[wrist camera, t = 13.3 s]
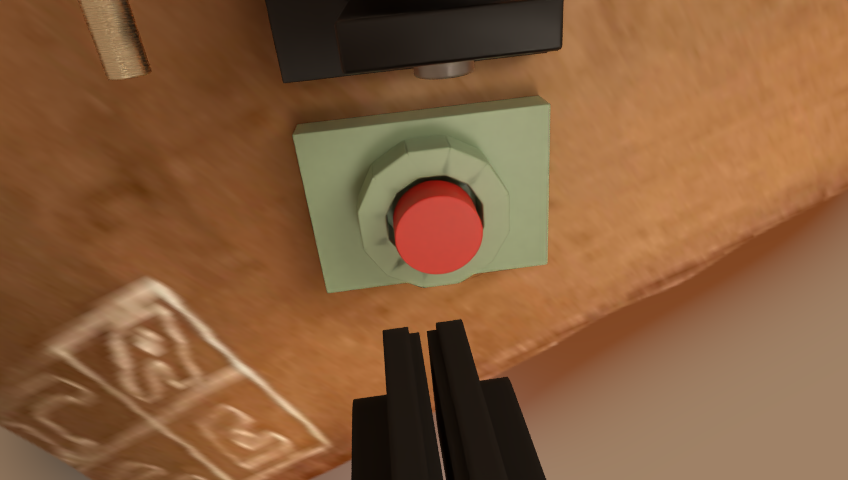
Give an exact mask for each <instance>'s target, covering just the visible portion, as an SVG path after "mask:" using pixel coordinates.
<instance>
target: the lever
mask: <svg viewBox="0 0 848 480" xmlns="http://www.w3.org/2000/svg"><path fill="white" fill-rule="evenodd" d="M78 3H79V5H80V8H81V11H82V13H83V16H84V19H85V21H86V24H87V27H88V29H89V32H90V35H91V37H92V40H93V43H94V45H95V48H96V51H97V53H98V56H99V59H100V61H101V64H102V67H103V69H104V72H105V75H106V77H107V79H108V80H123V79H130V78H135V77H140V76H144V75H147V74H150V73H151V72H152V70H151V67H150V64H149V61H148V58H147V55H146V52H145V49H144V46H143V43H142V40H141V37H140V34H139V31H138V28H137V25H136V22H135V19H134V16H133V13H132V10H131V7H130V4H129V1H128V0H78Z"/></svg>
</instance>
